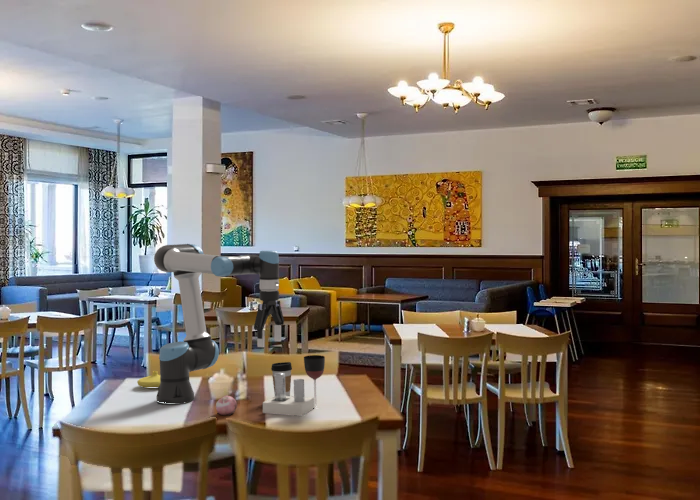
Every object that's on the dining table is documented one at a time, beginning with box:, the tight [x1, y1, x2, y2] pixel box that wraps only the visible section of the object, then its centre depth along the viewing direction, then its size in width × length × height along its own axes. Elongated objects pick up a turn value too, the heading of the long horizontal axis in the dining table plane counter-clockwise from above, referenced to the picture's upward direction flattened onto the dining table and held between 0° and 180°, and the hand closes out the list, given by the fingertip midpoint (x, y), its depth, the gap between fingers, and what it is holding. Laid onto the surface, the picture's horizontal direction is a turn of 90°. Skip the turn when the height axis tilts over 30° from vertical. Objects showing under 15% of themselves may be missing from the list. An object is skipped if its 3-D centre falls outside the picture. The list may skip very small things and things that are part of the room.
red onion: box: [215, 394, 238, 416], centre depth 266 cm, size 8×8×7 cm
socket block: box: [262, 378, 315, 417], centre depth 268 cm, size 16×12×12 cm
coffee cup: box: [270, 361, 293, 396], centre depth 286 cm, size 8×8×15 cm
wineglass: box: [303, 354, 326, 407], centre depth 272 cm, size 8×9×20 cm
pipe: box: [274, 373, 286, 402], centre depth 270 cm, size 4×4×14 cm
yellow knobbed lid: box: [136, 370, 160, 388], centre depth 317 cm, size 16×16×7 cm
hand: (269, 344), depth 276 cm, fingers open, 13 cm apart
